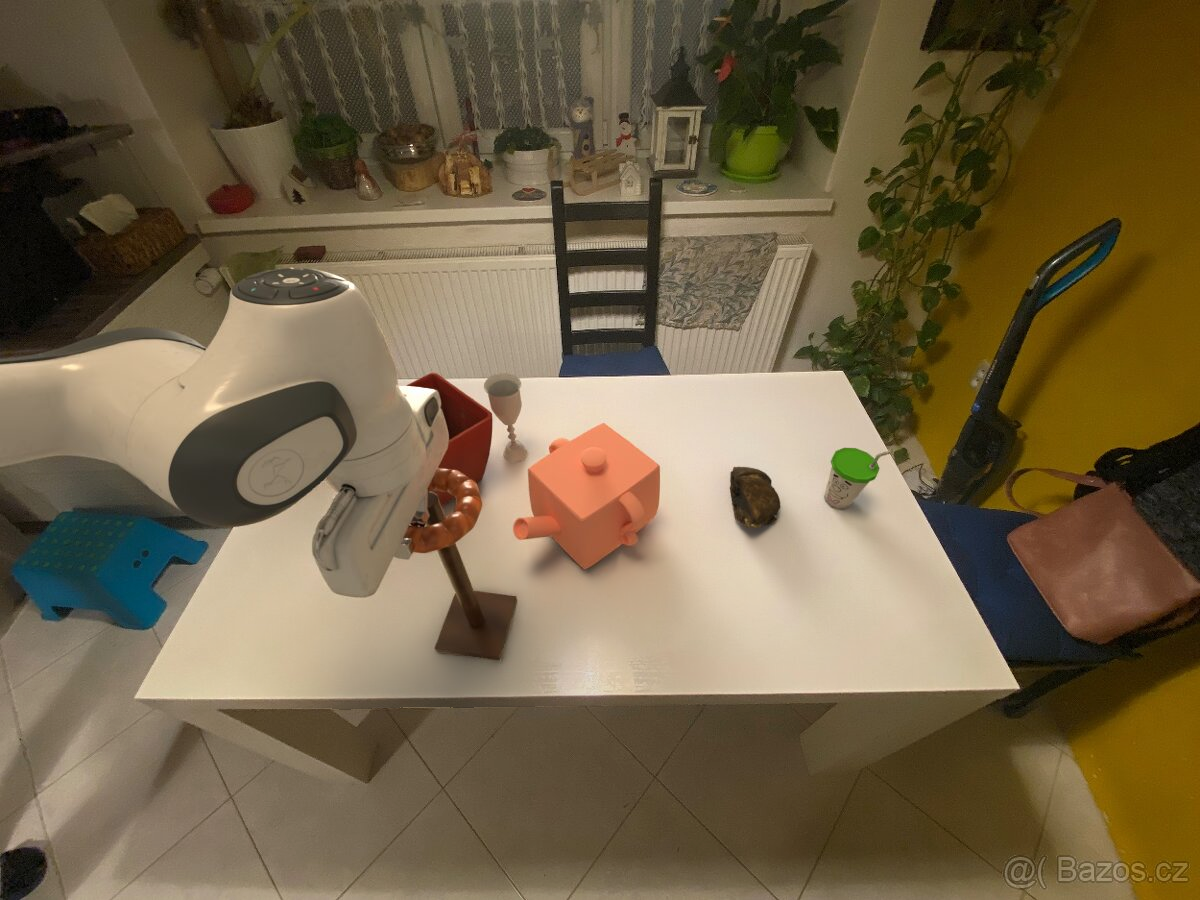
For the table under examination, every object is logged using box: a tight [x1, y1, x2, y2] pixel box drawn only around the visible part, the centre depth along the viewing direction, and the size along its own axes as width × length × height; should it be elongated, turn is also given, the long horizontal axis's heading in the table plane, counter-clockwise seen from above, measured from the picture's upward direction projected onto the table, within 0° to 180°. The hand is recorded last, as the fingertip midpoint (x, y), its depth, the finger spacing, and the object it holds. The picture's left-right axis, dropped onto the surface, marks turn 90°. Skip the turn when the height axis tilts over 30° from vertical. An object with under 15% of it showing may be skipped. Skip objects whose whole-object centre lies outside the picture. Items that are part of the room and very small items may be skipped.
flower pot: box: [405, 372, 494, 507], centre depth 95 cm, size 19×19×17 cm
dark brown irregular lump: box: [729, 466, 781, 529], centre depth 94 cm, size 16×9×7 cm, turn 178°
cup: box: [823, 447, 893, 510], centre depth 91 cm, size 8×8×15 cm
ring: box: [403, 468, 483, 554], centre depth 58 cm, size 12×12×3 cm
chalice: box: [483, 372, 528, 463], centre depth 100 cm, size 7×7×18 cm
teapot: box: [512, 422, 661, 570], centre depth 85 cm, size 25×23×18 cm
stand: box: [425, 492, 518, 662], centre depth 69 cm, size 10×10×32 cm
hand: (413, 537), depth 55 cm, fingers closed on ring, 3 cm apart
